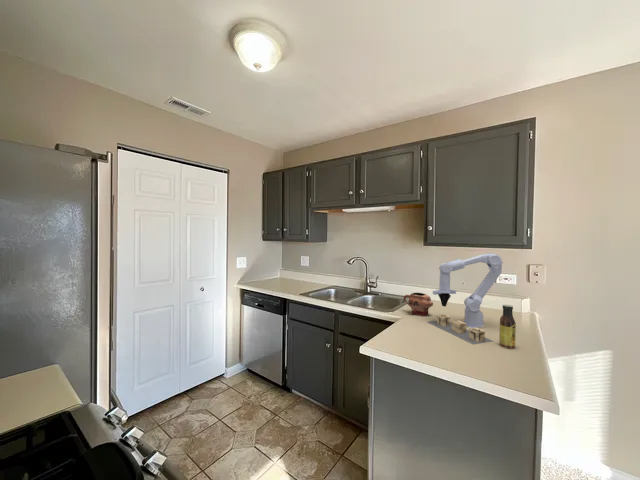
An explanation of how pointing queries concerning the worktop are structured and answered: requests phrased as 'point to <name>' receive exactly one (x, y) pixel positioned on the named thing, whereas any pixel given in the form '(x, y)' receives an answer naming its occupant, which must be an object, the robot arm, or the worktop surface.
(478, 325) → the robot arm
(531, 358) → the worktop surface
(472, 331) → the maple block marked 7
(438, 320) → the maple block marked 1
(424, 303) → the decorative planter
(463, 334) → the charcoal mat
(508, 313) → the sauce bottle
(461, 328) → the plain maple block
